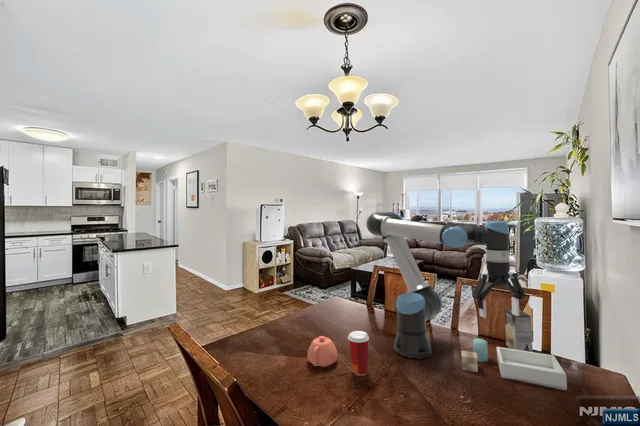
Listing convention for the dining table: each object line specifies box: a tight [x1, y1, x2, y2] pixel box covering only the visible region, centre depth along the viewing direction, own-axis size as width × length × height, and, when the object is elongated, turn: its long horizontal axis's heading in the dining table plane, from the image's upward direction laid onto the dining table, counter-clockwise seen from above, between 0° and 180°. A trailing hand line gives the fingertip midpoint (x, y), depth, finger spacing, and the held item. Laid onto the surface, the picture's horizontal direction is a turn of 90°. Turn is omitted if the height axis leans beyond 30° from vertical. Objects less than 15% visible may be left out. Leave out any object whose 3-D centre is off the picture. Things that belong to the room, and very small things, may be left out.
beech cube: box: [461, 349, 479, 373], centre depth 102 cm, size 5×5×5 cm
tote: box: [496, 346, 568, 391], centre depth 97 cm, size 18×14×5 cm
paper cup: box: [347, 330, 370, 374], centre depth 102 cm, size 8×8×14 cm
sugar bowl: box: [307, 335, 339, 367], centre depth 109 cm, size 12×14×10 cm
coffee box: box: [503, 308, 533, 352], centre depth 114 cm, size 9×6×16 cm
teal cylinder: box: [472, 337, 489, 363], centre depth 108 cm, size 5×5×7 cm
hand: (499, 316), depth 105 cm, fingers open, 13 cm apart
